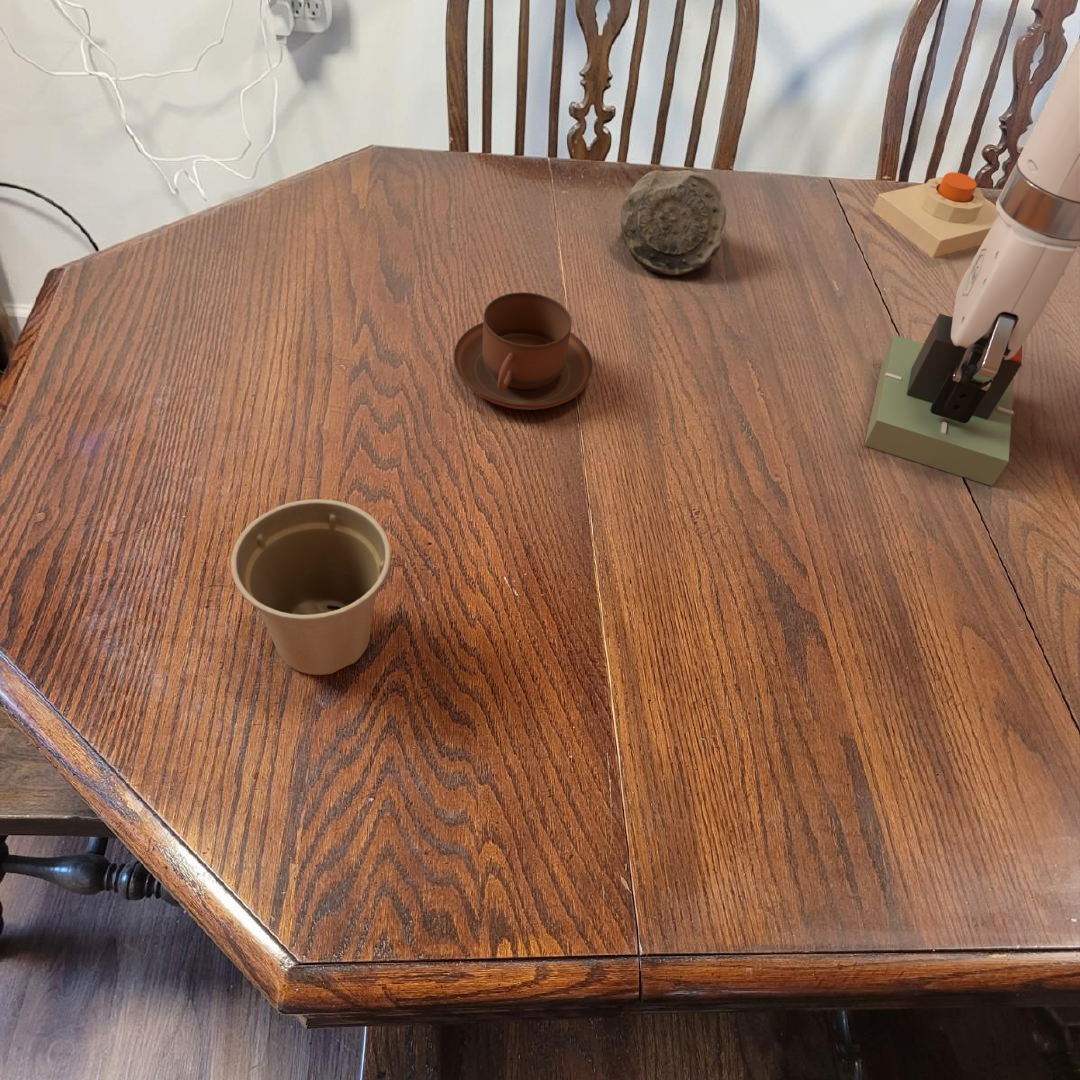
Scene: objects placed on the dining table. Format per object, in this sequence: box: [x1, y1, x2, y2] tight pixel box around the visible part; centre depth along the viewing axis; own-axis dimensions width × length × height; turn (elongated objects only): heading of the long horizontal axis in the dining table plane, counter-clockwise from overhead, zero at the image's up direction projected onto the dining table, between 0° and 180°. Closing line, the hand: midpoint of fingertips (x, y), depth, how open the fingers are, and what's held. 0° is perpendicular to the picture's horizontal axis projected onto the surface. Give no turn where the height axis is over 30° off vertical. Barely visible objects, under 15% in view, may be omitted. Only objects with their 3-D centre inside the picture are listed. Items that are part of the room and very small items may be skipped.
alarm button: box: [938, 171, 978, 203], centre depth 104 cm, size 4×4×2 cm
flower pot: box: [230, 498, 392, 676], centre depth 60 cm, size 9×9×9 cm
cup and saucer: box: [453, 291, 593, 411], centre depth 80 cm, size 12×12×6 cm
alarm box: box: [871, 176, 999, 259], centre depth 106 cm, size 12×10×4 cm
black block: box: [907, 313, 1023, 419], centre depth 80 cm, size 7×4×6 cm, turn 69°
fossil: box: [620, 169, 727, 277], centre depth 96 cm, size 11×9×10 cm
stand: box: [863, 334, 1015, 487], centre depth 83 cm, size 13×11×3 cm
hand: (952, 386), depth 81 cm, fingers open, 7 cm apart
